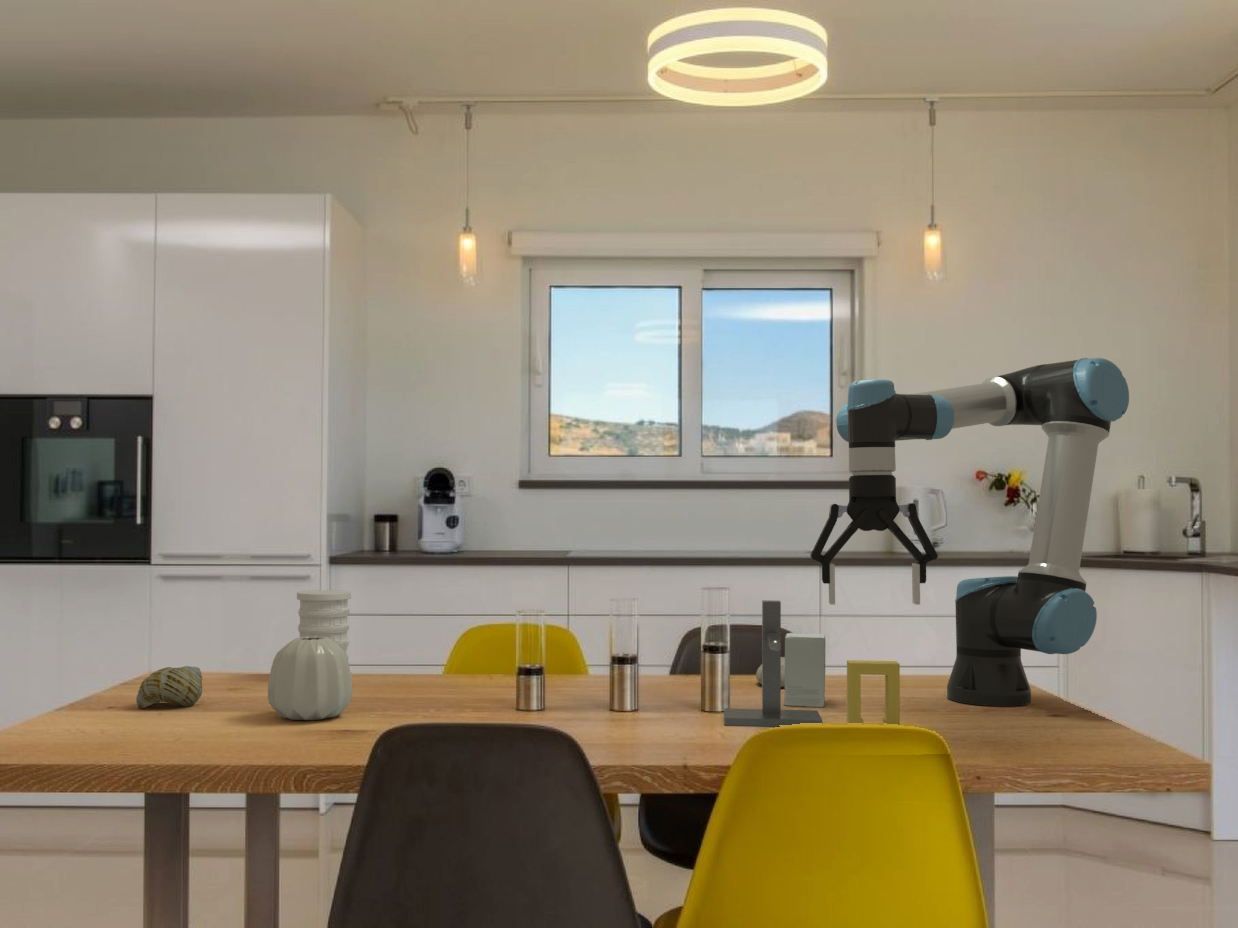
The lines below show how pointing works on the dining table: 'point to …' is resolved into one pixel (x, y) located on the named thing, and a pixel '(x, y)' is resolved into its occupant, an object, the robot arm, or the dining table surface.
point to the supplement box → (804, 669)
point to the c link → (891, 688)
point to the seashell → (171, 687)
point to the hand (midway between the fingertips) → (874, 604)
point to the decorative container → (325, 615)
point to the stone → (759, 673)
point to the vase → (310, 679)
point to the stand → (770, 681)
